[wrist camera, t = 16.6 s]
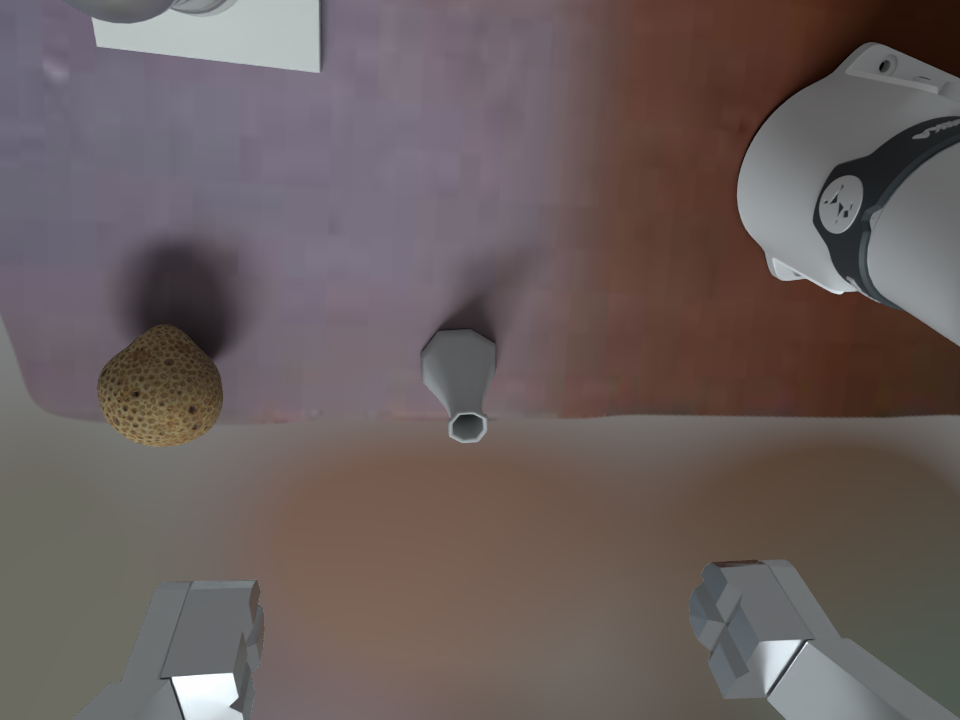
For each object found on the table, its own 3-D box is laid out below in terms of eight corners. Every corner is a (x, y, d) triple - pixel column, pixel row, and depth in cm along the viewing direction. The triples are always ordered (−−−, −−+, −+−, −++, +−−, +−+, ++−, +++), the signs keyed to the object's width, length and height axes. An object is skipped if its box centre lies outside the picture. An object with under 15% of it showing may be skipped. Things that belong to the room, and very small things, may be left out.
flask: (430, 318, 53) (435, 380, 44) (507, 336, 54) (526, 399, 46) (410, 385, 56) (411, 454, 48) (483, 399, 58) (497, 469, 49)
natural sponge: (175, 414, 55) (133, 491, 46) (102, 340, 50) (41, 410, 42) (258, 373, 54) (231, 444, 45) (191, 293, 49) (147, 356, 41)
